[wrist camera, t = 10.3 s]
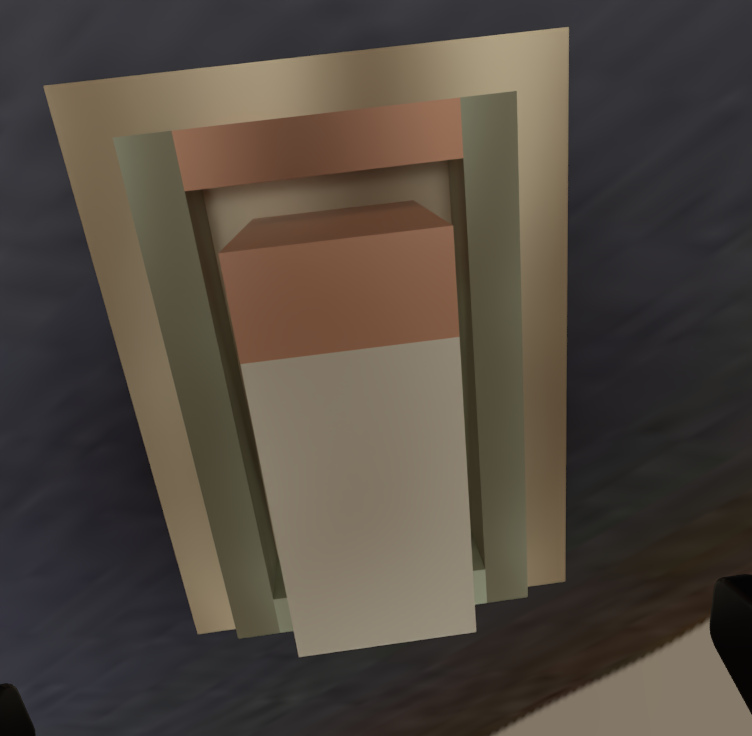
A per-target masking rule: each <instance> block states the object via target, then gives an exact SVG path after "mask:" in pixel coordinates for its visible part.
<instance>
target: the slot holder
mask: <svg viewBox="0 0 752 736" xmlns="http://www.w3.org/2000/svg"><path fill="white" fill-rule="evenodd" d="M43 87H44V91H45V94H46V98H47V101H48V105H49V108H50V112H51V115H52V119H53V123H54V126H55V130H56V133H57V137H58V140H59V144H60V147H61V151H62V154H63V158H64V162H65V165H66V169H67V172H68V176H69V179H70V183H71V186H72V190H73V193H74V197H75V201H76V204H77V208H78V211H79V215H80V218H81V222H82V225H83V229H84V232H85V236H86V240H87V243H88V247H89V250H90V254H91V257H92V261H93V264H94V268H95V272H96V275H97V279H98V282H99V286H100V289H101V293H102V296H103V300H104V303H105V307H106V311H107V314H108V318H109V321H110V325H111V328H112V332H113V335H114V339H115V342H116V346H117V350H118V353H119V357H120V360H121V364H122V367H123V371H124V374H125V378H126V381H127V385H128V389H129V392H130V396H131V399H132V403H133V406H134V410H135V413H136V417H137V420H138V424H139V428H140V431H141V435H142V438H143V442H144V445H145V449H146V452H147V456H148V460H149V463H150V467H151V470H152V474H153V477H154V481H155V484H156V488H157V491H158V495H159V499H160V502H161V506H162V509H163V513H164V516H165V520H166V523H167V527H168V530H169V534H170V538H171V541H172V545H173V548H174V552H175V555H176V559H177V562H178V566H179V569H180V573H181V577H182V580H183V584H184V587H185V591H186V594H187V598H188V601H189V605H190V609H191V612H192V616H193V619H194V623H195V626H196V630H197V633H198V634H203V633H210V632H217V631H224V630H231V629H236V632H237V636H238V639H241V638H247V637H254V636H261V635H268V634H275V633H282V632H289V631H294V630H293V625H292V620H291V615H290V610H289V605H288V600H287V595H286V590H285V585H284V580H283V575H282V570H281V565H280V560H279V555H278V550H277V545H276V540H275V535H274V530H273V525H272V520H271V515H270V510H269V505H268V500H267V495H266V490H265V485H264V480H263V475H262V470H261V465H260V460H259V455H258V450H257V445H256V440H255V435H254V430H253V425H252V420H251V415H250V410H249V405H248V400H247V395H246V390H245V385H244V380H243V375H242V370H241V365H240V360H239V355H238V350H237V345H236V340H235V335H234V330H233V325H232V320H231V315H230V310H229V305H228V300H227V295H226V290H225V285H224V280H223V275H222V270H221V265H220V260H219V255H218V253H219V252H220V251H221V250H222V249H223V248H224V247H225V246H226V245H227V244H228V243H229V242H230V241H231V240H232V239H233V238H234V237H235V236H236V235H237V234H238V233H239V232H240V231H241V230H242V229H243V228H244V227H245V226H246V225H247V224H248V223H249V222H250V221H251V220H252V219H255V218H263V217H272V216H280V215H289V214H298V213H306V212H315V211H324V210H332V209H341V208H349V207H358V206H367V205H375V204H384V203H392V202H401V201H410V200H414V201H416V202H417V203H419V204H420V205H422V206H423V207H425V208H426V209H428V210H430V211H431V212H433V213H434V214H436V215H437V216H439V217H440V218H442V219H444V220H445V221H447V222H448V223H450V224H451V225H453V230H454V248H455V266H456V283H457V301H458V319H459V336H460V354H461V371H462V389H463V407H464V424H465V442H466V460H467V477H468V495H469V513H470V530H471V548H472V565H473V583H474V601H475V605H476V604H483V603H489V602H496V601H503V600H510V599H517V598H524V597H528V587H530V586H537V585H544V584H550V583H557V582H564V581H565V537H566V387H567V238H568V88H569V27H564V28H555V29H546V30H537V31H528V32H519V33H510V34H501V35H492V36H483V37H475V38H466V39H457V40H448V41H439V42H430V43H421V44H412V45H403V46H394V47H385V48H376V49H367V50H359V51H350V52H341V53H332V54H323V55H314V56H305V57H296V58H287V59H278V60H269V61H260V62H252V63H243V64H234V65H225V66H216V67H207V68H198V69H189V70H180V71H171V72H162V73H153V74H144V75H136V76H127V77H118V78H109V79H100V80H91V81H82V82H73V83H64V84H55V85H46V86H43Z"/></svg>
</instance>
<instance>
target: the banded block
mask: <svg viewBox="0 0 752 736" xmlns="http://www.w3.org/2000/svg"><path fill="white" fill-rule="evenodd" d="M218 255H219V260H220V265H221V270H222V275H223V280H224V285H225V290H226V295H227V300H228V305H229V310H230V315H231V320H232V325H233V330H234V335H235V340H236V345H237V350H238V355H239V360H240V365H241V370H242V375H243V380H244V385H245V390H246V395H247V400H248V405H249V410H250V415H251V420H252V425H253V430H254V435H255V440H256V445H257V450H258V455H259V460H260V465H261V470H262V475H263V480H264V485H265V490H266V495H267V500H268V505H269V510H270V515H271V520H272V525H273V530H274V535H275V540H276V545H277V550H278V555H279V560H280V565H281V570H282V575H283V580H284V585H285V590H286V595H287V600H288V605H289V610H290V615H291V620H292V625H293V630H294V635H295V640H296V645H297V650H298V655H299V657H304V656H311V655H318V654H325V653H332V652H339V651H346V650H353V649H360V648H367V647H374V646H381V645H388V644H395V643H402V642H409V641H416V640H423V639H430V638H437V637H444V636H451V635H458V634H465V633H472V632H476V618H475V601H474V583H473V565H472V548H471V530H470V513H469V495H468V477H467V460H466V442H465V424H464V407H463V389H462V371H461V354H460V336H459V319H458V301H457V283H456V266H455V248H454V230H453V225H451V224H450V223H448V222H447V221H445V220H444V219H442V218H440V217H439V216H437V215H436V214H434V213H433V212H431V211H430V210H428V209H426V208H425V207H423V206H422V205H420V204H419V203H417V202H416V201H414V200H410V201H401V202H392V203H384V204H375V205H367V206H358V207H349V208H341V209H332V210H324V211H315V212H306V213H298V214H289V215H280V216H272V217H263V218H255V219H252V220H251V221H250V222H249V223H248V224H247V225H246V226H245V227H244V228H243V229H242V230H241V231H240V232H239V233H238V234H237V235H236V236H235V237H234V238H233V239H232V240H231V241H230V242H229V243H228V244H227V245H226V246H225V247H224V248H223V249H222V250H221V251H220V252H219V253H218Z"/></svg>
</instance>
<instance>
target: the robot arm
mask: <svg viewBox="0 0 752 736" xmlns="http://www.w3.org/2000/svg"><path fill="white" fill-rule="evenodd" d="M710 634H711V638H712V640H713V643H714V646H715V648H716V649H717V652H718V653H719V655H720V657H721V659H722V661H723V663H724V664H725V666H726V668H727V670H728V672H729V674H730V675H731V677H732V679H733V681H734V683H735V684H736V687H737V688H738V690H739V692H740V694H741V696H742V698H743V699H744V701H745V703H746V705H747V707H748V708H749V710H750V712H751V714H752V575H749V574H743V575H736V576H729V577H723V578H720V579H718V580H717V582H716V583H715V586H714V592H713V601H712V609H711V617H710ZM0 736H35V729H34V726H33V723H32V721H31V719H30V717H29V714H28V712H27V710H26V708H25V705H24V703H23V701H22V699H21V696H20V694H19V692H18V690H17V688H16V687H15V686H13V685H12V684H8V683H5V684H0Z"/></svg>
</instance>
